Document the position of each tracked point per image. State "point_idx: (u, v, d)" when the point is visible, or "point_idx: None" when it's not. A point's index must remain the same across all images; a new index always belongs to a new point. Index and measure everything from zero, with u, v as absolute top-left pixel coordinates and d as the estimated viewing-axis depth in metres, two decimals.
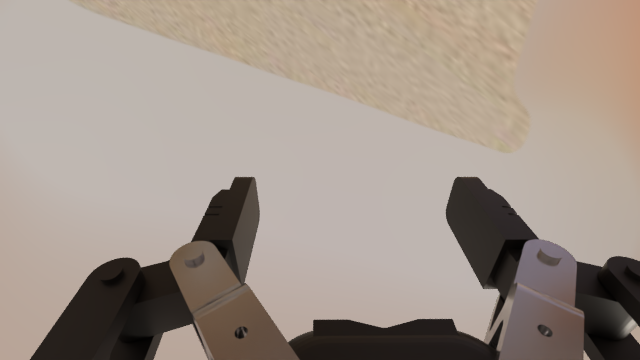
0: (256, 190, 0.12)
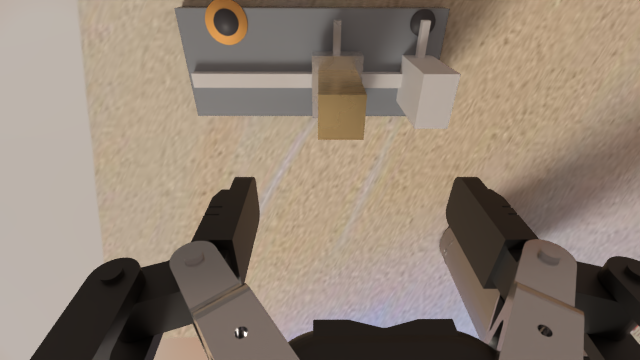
0: (256, 190, 0.12)
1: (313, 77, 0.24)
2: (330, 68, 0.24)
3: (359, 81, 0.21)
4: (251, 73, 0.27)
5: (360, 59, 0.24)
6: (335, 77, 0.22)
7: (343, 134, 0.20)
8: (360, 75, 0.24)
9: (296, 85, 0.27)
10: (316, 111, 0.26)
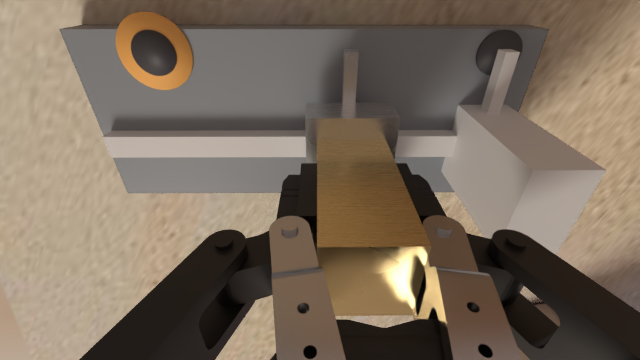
0: None
1: (308, 152, 0.14)
2: (339, 138, 0.13)
3: (400, 183, 0.10)
4: (204, 135, 0.16)
5: (393, 123, 0.13)
6: (350, 167, 0.11)
7: (371, 308, 0.09)
8: (392, 149, 0.14)
9: (280, 153, 0.16)
10: None
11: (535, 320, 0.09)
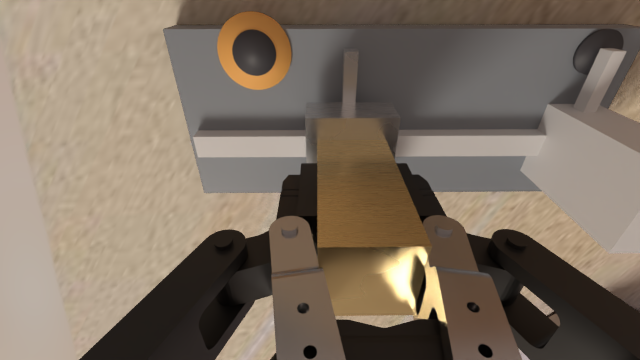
0: None
1: (308, 152, 0.14)
2: (339, 138, 0.13)
3: (400, 183, 0.10)
4: (294, 135, 0.16)
5: (394, 123, 0.13)
6: (350, 167, 0.11)
7: (372, 308, 0.09)
8: (392, 148, 0.14)
9: None
10: None
11: (535, 320, 0.09)
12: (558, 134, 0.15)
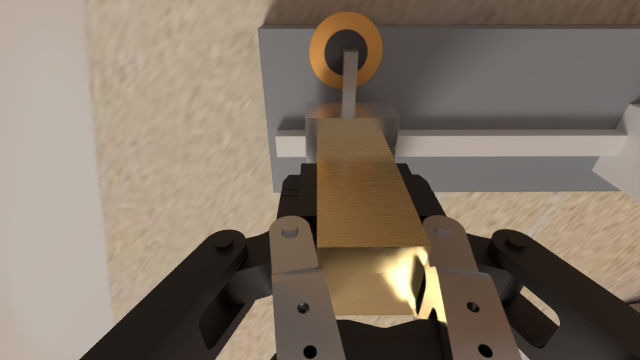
0: None
1: (308, 152, 0.14)
2: (339, 138, 0.13)
3: (400, 183, 0.10)
4: None
5: (393, 123, 0.13)
6: (350, 167, 0.11)
7: (371, 308, 0.09)
8: (392, 148, 0.14)
9: (447, 153, 0.16)
10: None
11: (535, 320, 0.09)
12: None
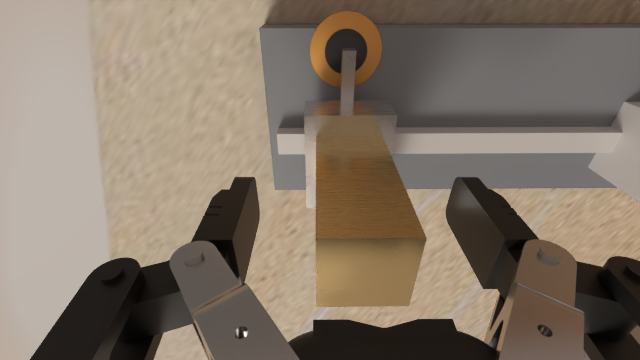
0: (256, 190, 0.12)
1: (307, 149, 0.14)
2: (337, 135, 0.14)
3: (397, 178, 0.11)
4: None
5: (391, 120, 0.13)
6: (348, 163, 0.12)
7: (369, 299, 0.10)
8: (389, 145, 0.14)
9: (445, 150, 0.17)
10: (313, 198, 0.16)
11: None
12: (638, 131, 0.15)
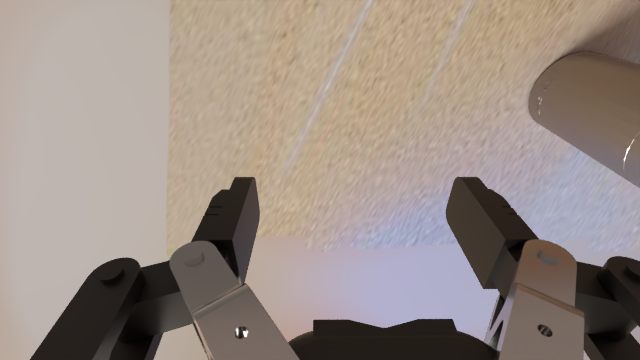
0: (256, 190, 0.12)
1: None
2: None
3: None
4: None
5: None
6: None
7: None
8: None
9: None
10: None
11: None
12: None
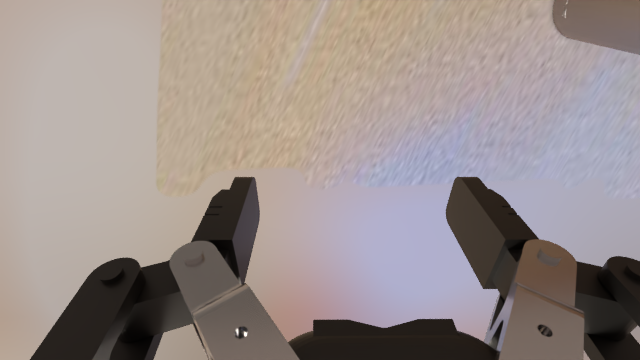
0: (256, 190, 0.12)
1: None
2: None
3: None
4: None
5: None
6: None
7: None
8: None
9: None
10: None
11: None
12: None
